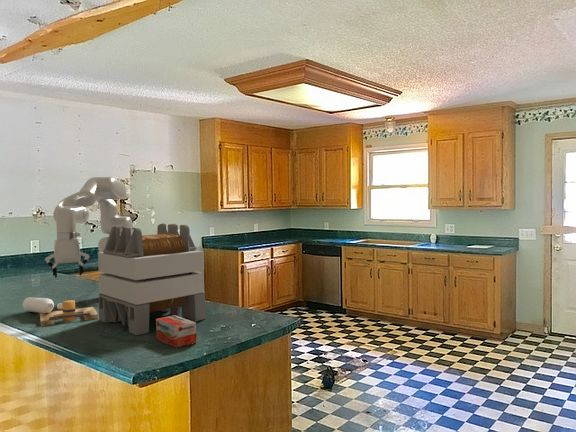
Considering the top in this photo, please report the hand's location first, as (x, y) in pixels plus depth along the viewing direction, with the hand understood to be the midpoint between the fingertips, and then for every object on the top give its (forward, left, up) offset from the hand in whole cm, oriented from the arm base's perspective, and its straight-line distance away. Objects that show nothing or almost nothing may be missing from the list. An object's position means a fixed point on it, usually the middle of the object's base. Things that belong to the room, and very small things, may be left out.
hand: (68, 276), depth 204 cm
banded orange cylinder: (0, 0, -19) cm, 19 cm away
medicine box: (-31, +54, -19) cm, 65 cm away
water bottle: (+14, -28, -16) cm, 35 cm away
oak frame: (0, -3, -19) cm, 19 cm away
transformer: (-31, +19, -19) cm, 41 cm away
